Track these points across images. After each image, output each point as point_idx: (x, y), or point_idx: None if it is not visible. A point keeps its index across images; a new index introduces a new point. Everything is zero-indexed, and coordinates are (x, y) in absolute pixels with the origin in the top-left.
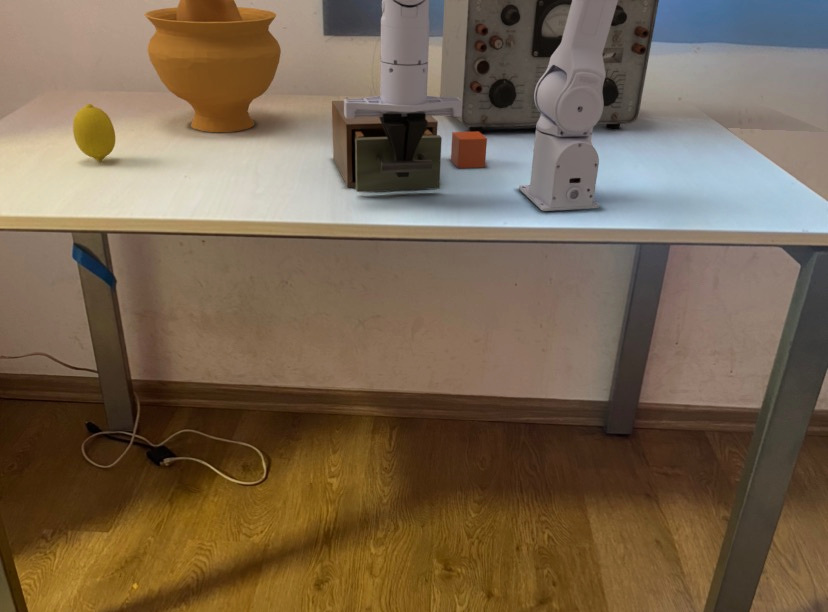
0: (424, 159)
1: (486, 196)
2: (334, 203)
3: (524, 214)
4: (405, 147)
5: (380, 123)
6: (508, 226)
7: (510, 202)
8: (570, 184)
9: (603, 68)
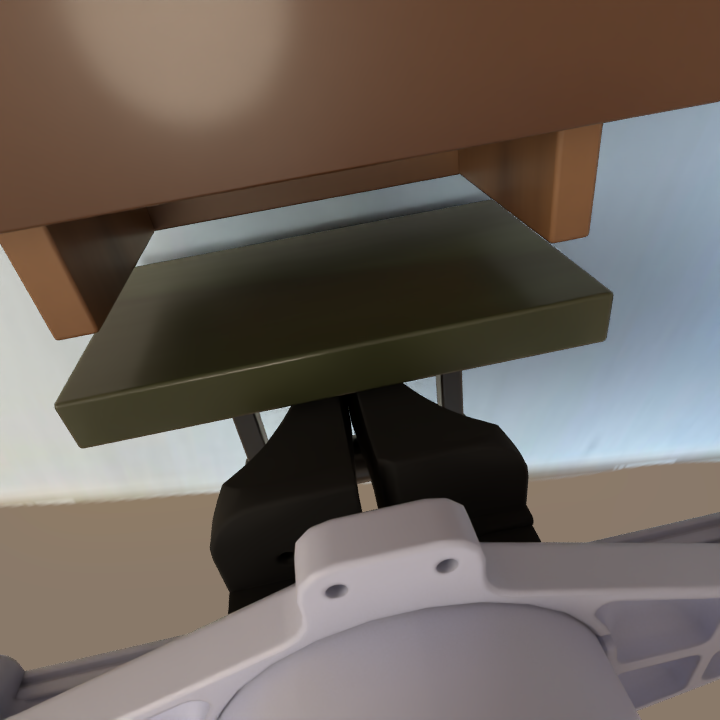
0: (453, 401)
1: (649, 233)
2: (71, 345)
3: (675, 384)
4: (371, 474)
5: (195, 195)
6: (591, 461)
7: (695, 290)
8: None
9: None
